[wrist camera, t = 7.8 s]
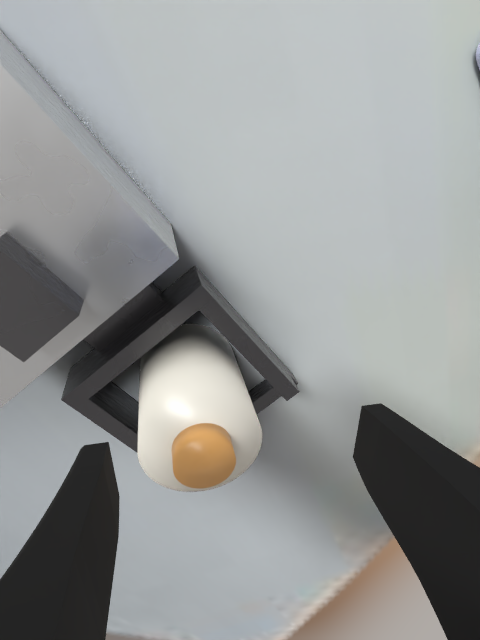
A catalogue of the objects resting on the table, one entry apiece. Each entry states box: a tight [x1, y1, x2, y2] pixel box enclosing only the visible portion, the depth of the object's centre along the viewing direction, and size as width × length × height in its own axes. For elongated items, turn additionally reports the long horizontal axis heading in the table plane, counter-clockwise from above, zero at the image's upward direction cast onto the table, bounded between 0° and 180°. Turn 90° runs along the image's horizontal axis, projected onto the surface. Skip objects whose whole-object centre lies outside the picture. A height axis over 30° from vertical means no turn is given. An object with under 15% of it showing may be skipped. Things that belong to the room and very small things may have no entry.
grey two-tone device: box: [0, 30, 299, 453], centre depth 16 cm, size 22×9×6 cm, turn 37°
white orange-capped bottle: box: [138, 324, 262, 492], centre depth 18 cm, size 5×5×7 cm
